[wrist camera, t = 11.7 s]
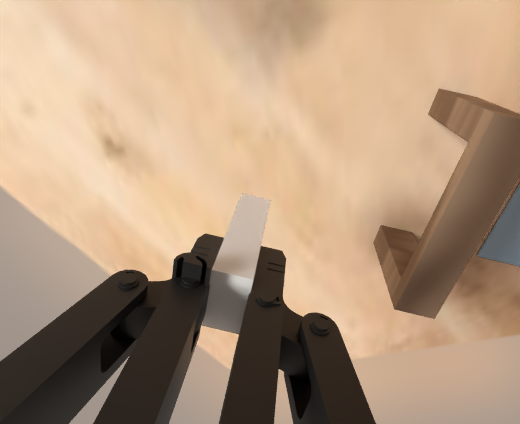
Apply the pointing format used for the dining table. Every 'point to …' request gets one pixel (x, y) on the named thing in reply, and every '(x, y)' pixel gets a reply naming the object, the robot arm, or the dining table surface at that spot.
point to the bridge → (454, 205)
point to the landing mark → (505, 235)
